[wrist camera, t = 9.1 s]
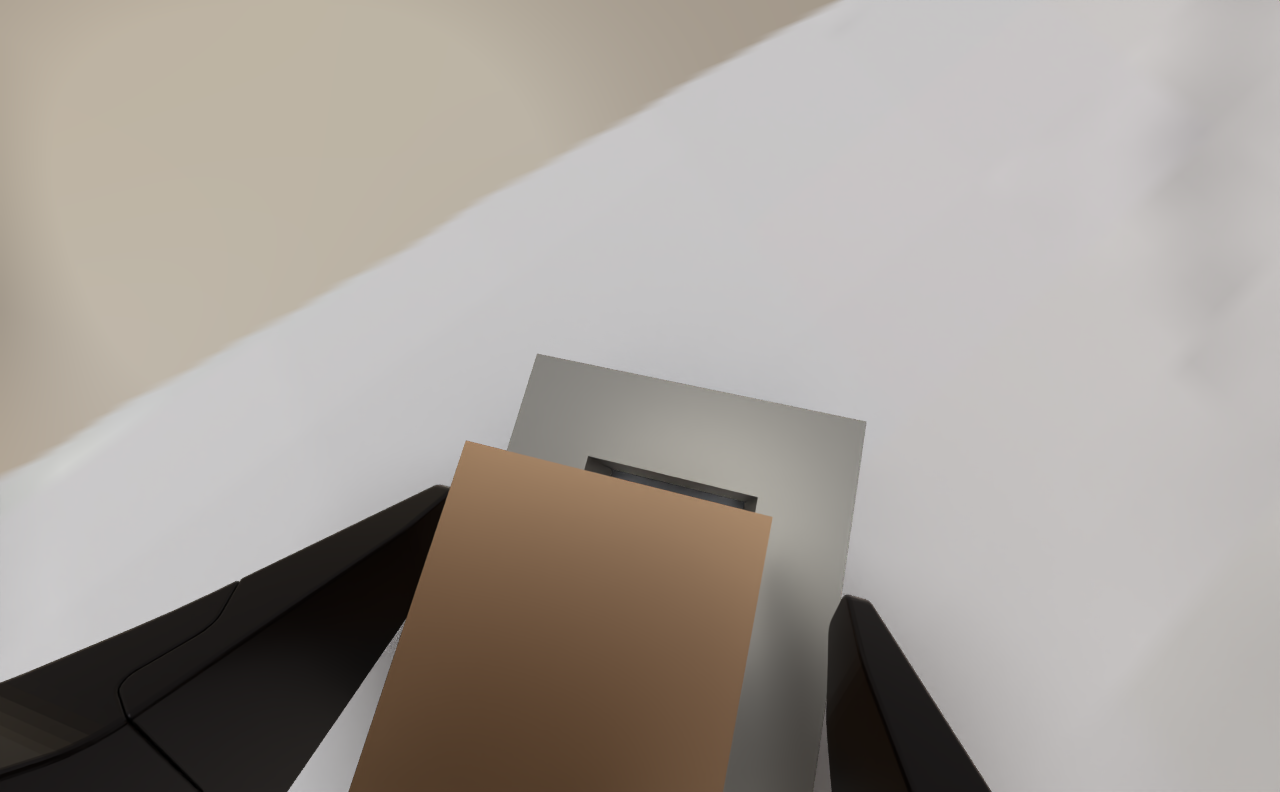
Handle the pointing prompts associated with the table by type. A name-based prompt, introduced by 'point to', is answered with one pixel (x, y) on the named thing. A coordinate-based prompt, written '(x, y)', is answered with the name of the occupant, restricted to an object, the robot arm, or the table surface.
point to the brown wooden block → (569, 638)
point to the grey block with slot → (768, 484)
